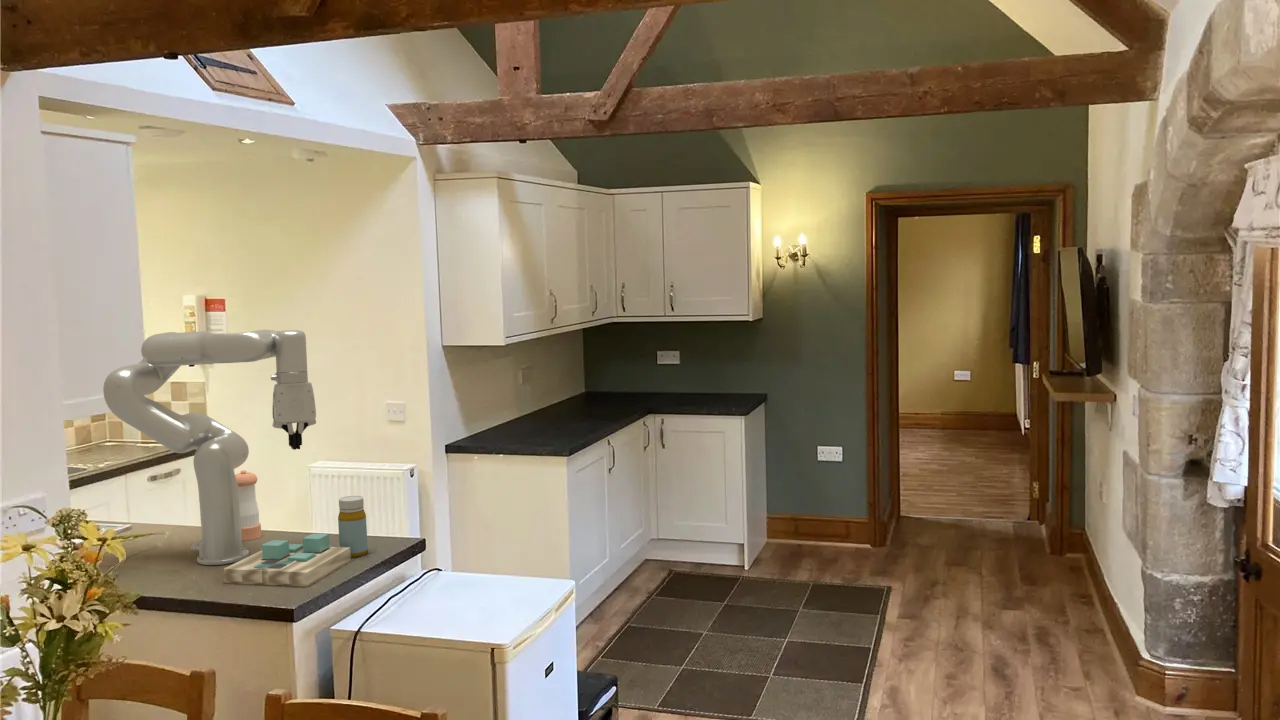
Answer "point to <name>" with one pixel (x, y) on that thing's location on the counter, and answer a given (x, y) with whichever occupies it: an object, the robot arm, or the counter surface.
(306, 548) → the button
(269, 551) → the button
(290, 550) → the button
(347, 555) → the button board
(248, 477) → the salt shaker
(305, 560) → the button
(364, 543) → the bottle
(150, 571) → the counter surface
